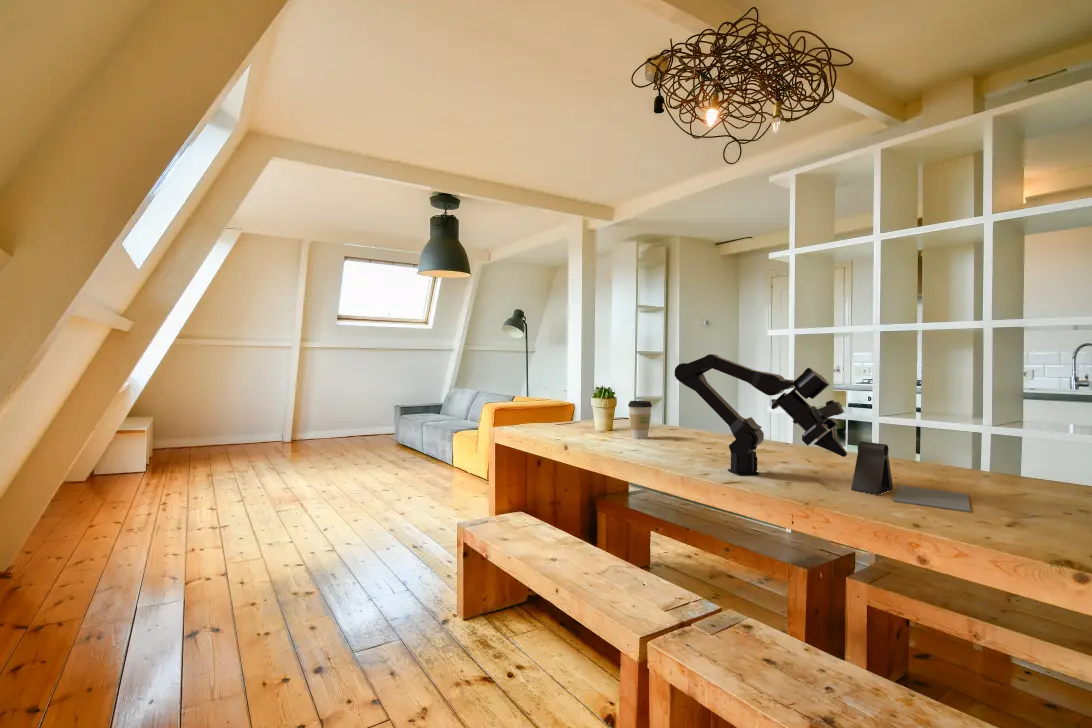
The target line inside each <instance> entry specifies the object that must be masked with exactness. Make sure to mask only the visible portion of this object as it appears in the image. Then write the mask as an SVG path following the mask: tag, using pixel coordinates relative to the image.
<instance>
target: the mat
mask: <svg viewBox="0 0 1092 728" xmlns="http://www.w3.org/2000/svg"><path fill="white" fill-rule="evenodd" d="M893 502H895V503H902V504H908V503H909V505H915V506H917V505H918V506H923V507H930V508H938V509H944V510H950V511H958V512H965V513H966V512H967V513H971V506H970V500H969V494H968V493H963V492H956V491H947V490H941V489H940V490H939V489H932V488H926V487H925V488H924V487H917V486H908V485H899V484H898V487H897V490H896V492H895V494H894V498H893Z"/></svg>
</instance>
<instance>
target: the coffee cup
mask: <svg viewBox="0 0 1092 728" xmlns="http://www.w3.org/2000/svg"><path fill="white" fill-rule="evenodd" d="M627 406H628V410H629V422H630V424H629V425H630V430H631V437H632V439H634V438H635V439H634V440H646V439H648V437H649V429H650V423H651V415H652V414H651V413H652V412H651V410H652V407H653V405H652V403H651V401H650V400H630V401H629V402H628V404H627Z"/></svg>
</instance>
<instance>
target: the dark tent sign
mask: <svg viewBox="0 0 1092 728" xmlns="http://www.w3.org/2000/svg"><path fill="white" fill-rule="evenodd" d="M889 451H890V450H889V445H888V444H887V443H885V444H884V443H878V442H871V441H869V442H868V441H859V442H858V443H857V456H856V462H855V468H854V473H853V478H852V483H851V491H853V490H854V492H858V491H859V493H863V492H865V493H864V494H868V493H870V494H869V495H873V494H876V495H875V496H879V495H878V494H881V493H884V492H887V491H890V492H892V491H891V490H893V491H894V484H893V479H892V477H893V476H892V471H891V464H890V459H889ZM887 493H888V492H887ZM884 494H885V493H884ZM881 495H882V494H881Z"/></svg>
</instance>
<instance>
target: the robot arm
mask: <svg viewBox="0 0 1092 728" xmlns="http://www.w3.org/2000/svg"><path fill="white" fill-rule="evenodd" d="M674 369H675V370H674V377H675V378H676V380H677V381H679V382H680V383H681V384H682V385H684V387H685V386H686V387H687V388H689V389H691V390H692V391H695V392H696V394H698V396H700V398H701V399H703V401H704V402H705V403H706V404H707V405H708V406H709V407H710V408H711V409H712V411H714V412H715V413H716V414H717V416H719V417H720V418H721V419H722V420H723V421H724V423H726V424H727V425H728V427H729V430H730V432H731V434H732V435H733V437H734V438H735V439H734V440H733V441H732V442H731V443H730V444H728V448H729V450H730V468H727V471H728V472H731V473H733V474H736V475H739V476H753V475H760V472H759V471H758V457H757V452H756V450H757V448H758V446H759V445H761V444H762V443H763V441H764V439H765V434H764V431H763V430H762V426H761V425H760V424H758V423H756V421H755V420H754V418H753V417H752V416H751V417H747V418H745V417H742V416H741V414H740V413H738V412H737V411H736V410H735V408H733V407H732V405H730V404H729V403H728V402H727V401H726V400H725V399H724V398H723V397H722V396H721V394H719V393H718V392H717V391H716V390H715V388H713V386H711V384H710V383H709V382H708V381H707V379H706V377H705V373H707V372H708V371H710V370H712V369H713V370H715V371H718V372H721V373H724V374H725V375H728V376H731V377H733V378H736V379H739V380H741V381H743V382H746V383H747V384H749V385H751V386H752V387H753V388H755V389H756V390H758V391H759V392H761V393H763V394H764V395H767V396H776V395H780V394H781V395H780V396H779V397H777V398H776V399H775V398H772V399H771V400H770V401H771V408H770V409H772V410H775V409H778V407H780V408H781V409H782V410H783V411H784V412H785V413H786V414H787V415H788V416H789V417H790V418H791V419H792V422H793V423H794V424H795V425H798V426H799V427H800V428H802V430H803V431H805V432H804V433H803V434H802V435H801V441H802V442H803V443H804V444H805V445H806V446H807V447H808V446H809V445H811V444H812V442H814V441H815V440H816V441H815V442H814V443H813V445H815V446H818V447H820V448H822V449H825V450H827V451H828V452H831V453H834V454H836V455H838V456H841V457H843V458H845V457H847V455H848V453H847V451H846V449H845V448H844V446H843V444H842V443H841V442H840V440H839V438H838V437H837V435H836V434H837V427H836V426H837V425H838V424H839V422H838V421H837V420H836V419H835V418H834V417H833V416H839V415H842V414H844V413H845V411H844V408H843V405H842V404H841V403H840V400H838V401H835V400H834V399H832V400H831V399H830V400H828V401H826V402H825V406H823V407H820V408H817V407H816V406H815V405H810V404H809V403H808V402H807V401H806V400H808V399H809V398H810V399H811V400H814V399H815V398H816V397H817V396H819V394H821V393H822V392H823V391H824V390H826V389H827V388H828V387H829V386H830V382H829V381H827V379H826V378H825V377H824V376H823V375H821V374H819V373H817V371H815V370H813V369H812V368H811V367H807V368H806V369H805V370H804V371H803V372H802V374H800V375H799V376H798V377H797V378H796V379H794V380H793V379H786V378H785V377H784V376H782V375H780V374H776V373H772V372H768V371H767V372H766V371H761V370H755V369H753V368H750V367H747V366H744V365H742V364H740V363H737V362H734V361H731V360H729V359H726V358H725V357H721V356H720V355H718V354H713V353H712V354H711V353H709V354H707V355H705V356H703V357H701V358H699V359H698V358H697V359H696V360H693V361H690V362H682V363H679V364H677V365H676V367H675V368H674ZM790 389H791V391H789V392H788V393H786V392H785V391H786V390H790ZM805 399H806V400H805Z"/></svg>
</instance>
